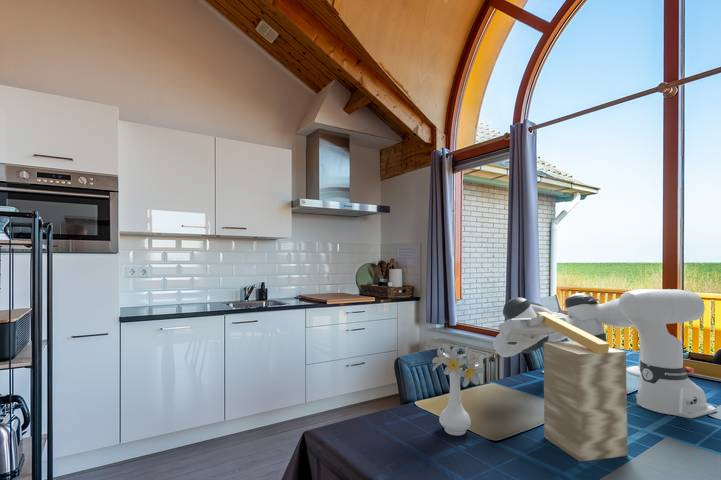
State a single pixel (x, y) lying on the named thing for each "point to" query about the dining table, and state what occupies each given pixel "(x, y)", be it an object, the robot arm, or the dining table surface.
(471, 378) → the flower vase
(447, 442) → the dining table surface
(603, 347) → the bar
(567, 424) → the pedestal
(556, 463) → the dining table surface
